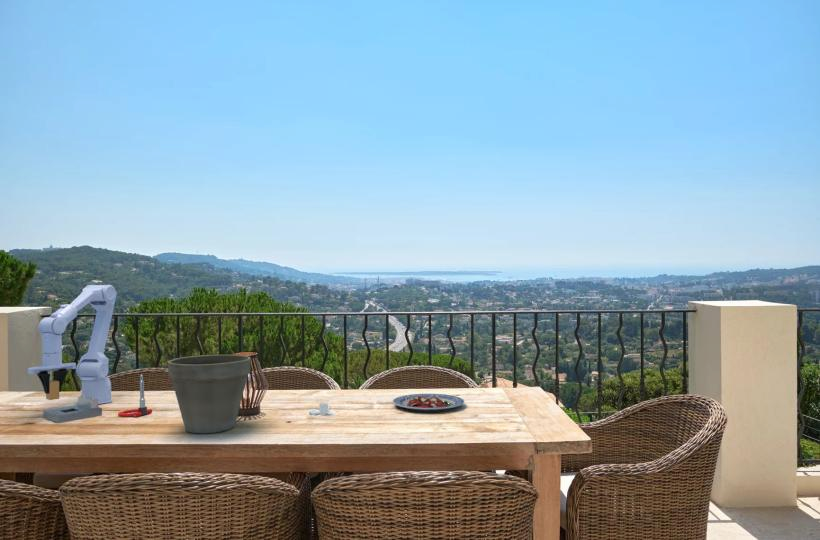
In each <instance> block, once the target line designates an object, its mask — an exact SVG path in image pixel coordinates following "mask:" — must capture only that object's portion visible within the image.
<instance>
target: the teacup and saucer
mask: <svg viewBox="0 0 820 540" xmlns="http://www.w3.org/2000/svg"><path fill="white" fill-rule="evenodd" d="M331 409H332V407H331V405H329V403H327V402H320V403H319V404H318V409H316V408H312V409H309V410H308V414H309V415H311V417H314V418H319V416H318V415H320V416H326V418H331V417H334V416H335V415H336V413H335V412H331ZM328 414H331V415H328ZM327 415H328V416H327Z"/></svg>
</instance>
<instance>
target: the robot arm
mask: <svg viewBox="0 0 820 540" xmlns="http://www.w3.org/2000/svg"><path fill="white" fill-rule="evenodd" d="M117 295H118V293H117V291H116V289H115V287H114V286H113V285H112V284H87V285H86V286H85V287H84V288H82V292H81V293H80V294H78V296H77V297H76V298H75V299H74V300H73V301H72V302H71V303H70V304H68V303H67V304H61V305H60V306H59V307H60V308H59V309H57V310H56V311H54V312H53V313H51V315H50V316H49V317H48V316H47V317H43V319H41V320H40V321H39V323H38V326H37V329H38V332H39V333H40V338H41V340H42V365H38V366H33V367H28V368H27V374H28V375H34V374H36V375H37V377H38V379H39V380H40V382H41V384H42V387H43V391H44V394H45V395H46V394H49V381H51V380H50V379H51V374H50V372H54V375H55V380H57V381H59V393H61V392H62V388H63V384H64V381H65V379H66V376H67V375H68V373H69V370H74V369H75V373H76V376H77V377H78V378H79V381H81V395H86V396H88V397H95V399H98V405H101V404H107V403H112V402H113V400H112V382H111V379H110V378H108V377H107V375H108V374H109V370H110V369H109V362H110V361H109V358H108V357H107V356H106V355H105V354H104V353H105V349H106V346H107V345H106V344H107V339H108V335H109V332H110V331H109V330H110V326H111V322H112V318H113V313H114V307H115V305H116V298H117ZM88 304H89V305H90V306H91V307H92V308H94V309H95V311H96V313H95V314H96V315H95V318H94V323H93V327H92V333H91V337H90V341H89V345H88V350H87V352H86V353H85V354H83V355H81V357H80V360H79V362H78V364H77V363H76V362H67V363H63V349H62V348H63V346H62V345H63V339H62V338H63V337H62V334H63V333H64V332H65V331H66V329H67V327H68V325H69V323H71V322H72V321H73V320H75V319H76V318H77V317H78V312H79V311H80V310H81V309H83V308H84V307H86V306H87V305H88ZM76 404H78V401H77V402H76Z"/></svg>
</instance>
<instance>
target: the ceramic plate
mask: <svg viewBox="0 0 820 540" xmlns="http://www.w3.org/2000/svg"><path fill="white" fill-rule="evenodd" d="M443 401H444V402H443ZM392 403H393V405H395V406H397V407H401V408H406V409H407V410H410V411H411V410H412V411H416V412H441V411H440V410H442V411H446V409H447V410H449V409H452V408H457V407H460V406H462V405H463V404H464V403H465V400H464V399H463V398H461V397H459V396H455V395H451V394H450V395H449V394H443V393H413V394H406V395H401V396H398V397H395V398H393V399H392ZM448 403H449V404H448Z"/></svg>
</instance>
